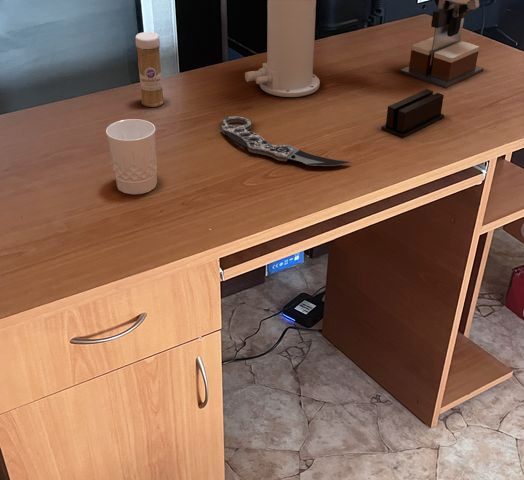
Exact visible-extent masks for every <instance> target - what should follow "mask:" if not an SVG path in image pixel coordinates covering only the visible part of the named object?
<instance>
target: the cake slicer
mask: <svg viewBox="0 0 524 480" xmlns="http://www.w3.org/2000/svg"><path fill="white" fill-rule="evenodd" d="M467 3H470V1H469V2H467ZM453 9H454V3H453V4H452V3H451V5H450V6H447V7H444V8H442V9H439V10H438V9H436V10H433V12H432V17H431V24H430V27H431V28H434V31H433V33H434V34H433V37H434V38H433V45H432V53H431V60H430V66H431V65H433V59H434V53H435V52H437V51H439V50H442V49H444V48H447V47H449V46H451V45H454V44H456V43H459V42H461V41H462V33H463V26H464V21H465V18H467V17H469V16H470V15H469V14H470V10H468V11H467V12H465V14H463V15H462V18H461V24H460V30H459V32H458V34H456V35H453V36H451V37H450V36H448V35H447V32H448V26H449V20H450V17H451V16H453Z"/></svg>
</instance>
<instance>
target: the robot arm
mask: <svg viewBox="0 0 524 480" xmlns="http://www.w3.org/2000/svg"><path fill="white" fill-rule="evenodd" d="M432 1H434V3H435V5H436V7H437V10H439V9H442V8H444V7H447V6H450V5H452V3H453V4H454V9H453V16H451V17H450V20H449V26H448V32H447V35H448V36H450V37H451V36H453V35H456V34H458V32H459V30H460V24H461V18H462V15H463V14H465V12H467V11H468V10H469V11H470V10H476V9H478V8H480V1H479V0H432ZM469 1H470V3H467V2H469ZM266 7H267V23H266V24H267V26H266V27H267V28H266V29H267V31H266V32H267V34H266V35H267V36H266V38H267V42H266V46H267V47H266V48H267V49H266V60H267V61H266V62H263V63H262V67H260V68H258V70H251V71H246V72H245V73H244V79H245V81H246V83H248V82H255V83H256V85H259V87H260V89H261V90H262V91H264V92H265V93H267V94H269V95H272V96H277V97H282V98H300V97H306V96H308V95H312V94H314V93H315V92H317V91H318V90H319V89H320V83H321V80H320V78H319V77H318V76H317V75H315V74H314V58H315V57H314V55H315V54H314V53H315V35H316V33H315V32H316V14H317V13H316V12H317V11H316V10H317V8H316V7H317V0H267V5H266Z"/></svg>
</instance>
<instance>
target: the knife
mask: <svg viewBox="0 0 524 480" xmlns="http://www.w3.org/2000/svg"><path fill="white" fill-rule="evenodd" d="M235 123H238V124H243V125H232V124H235ZM251 128H252V122H251V120H250V119H248V118H247V117H244V116H237V115H233V116H226V117H224V118H222V124H221V126H220V130H221V132H222V134H223V135H226V137H228V138H229V139H230V140H231V141H233V142H234V143H236V144H238V145H239V146H241V147H243V148H245V149H247V151H248V152H250V153H252V154H258V155H262V156H263V155H264V156H267V157H270V158H273V159H274V160H277V161H281V162H288V160H291V162H295V161H296V162H299V163H302V164H304V165H306V166H314V167H315V166H316V167H317V166H318V167H335V166H342V165H347V164H348V165H349V164H351V163H352V161H349V160H340V159H335V158H329V157H324V156H321V155H316V154H312V153H309V152H306V151H303V150H302V149H298V148H297V147H294V146H293V145H290V144H272V143H270V142H268V141H266V139H265V138H264V137H263V136H261V135H260V134H258V133H256V132H253V131H249V130H250V129H251Z"/></svg>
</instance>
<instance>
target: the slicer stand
mask: <svg viewBox="0 0 524 480" xmlns="http://www.w3.org/2000/svg"><path fill="white" fill-rule="evenodd" d="M444 97H445V95H444V94H441V93H439V92H436V93H434V91H433V90H432V89H428V88H425V89H423V90H421V91H418V92H416V93H414V94H412V95H410V96H408V97H405V98H403V99H401V100H399V101H397V102H394V103H392V104H390V105H388V106H387V109H386V110H387V111H386V119H385V120H386V121H385V124H384V125H382V126H381V128H380V129H381V130H382V131H385V132H387V133H390V134H392V135H394V136H397V137H400V138H402V139H404V138H406V137H408V136H410V135H412V134H414V133H416V132H418V131H420V130H422V129H424V128H426V127H428V126H430V125H432V124H435V123H437V122H439V121H440V120H442V119H445V114H443V113H442V111H443V110H442V109H443V102H444Z"/></svg>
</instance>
